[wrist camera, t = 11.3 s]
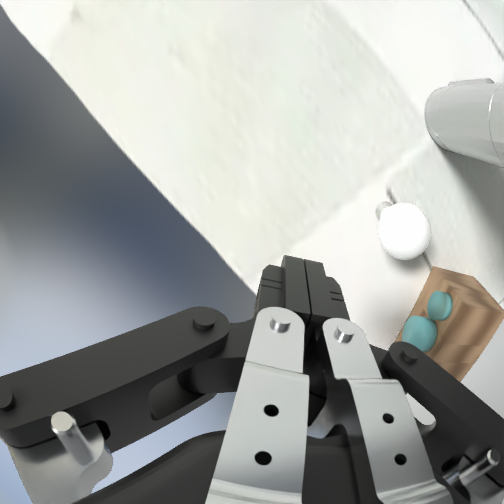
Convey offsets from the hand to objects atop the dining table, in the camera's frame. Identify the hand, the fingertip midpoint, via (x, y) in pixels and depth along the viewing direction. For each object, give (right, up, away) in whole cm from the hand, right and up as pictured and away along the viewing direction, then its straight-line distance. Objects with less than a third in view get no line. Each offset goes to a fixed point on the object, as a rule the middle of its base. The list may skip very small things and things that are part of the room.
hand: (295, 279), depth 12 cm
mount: (+29, -9, +31) cm, 44 cm away
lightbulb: (+16, +7, +25) cm, 31 cm away
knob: (+29, -11, +27) cm, 41 cm away
